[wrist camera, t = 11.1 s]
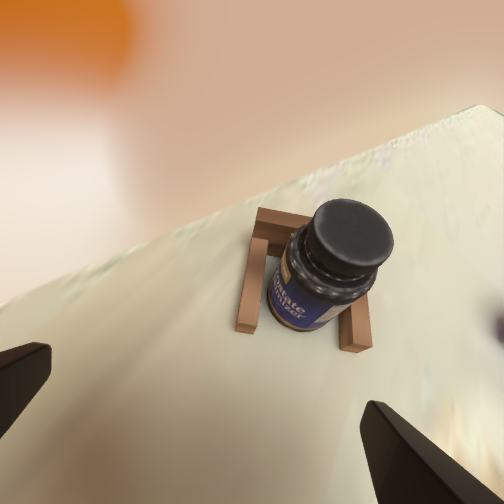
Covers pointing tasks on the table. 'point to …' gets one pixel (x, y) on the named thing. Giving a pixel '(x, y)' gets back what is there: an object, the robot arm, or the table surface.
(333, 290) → the pill bottle
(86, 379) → the table surface
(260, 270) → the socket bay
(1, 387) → the robot arm
